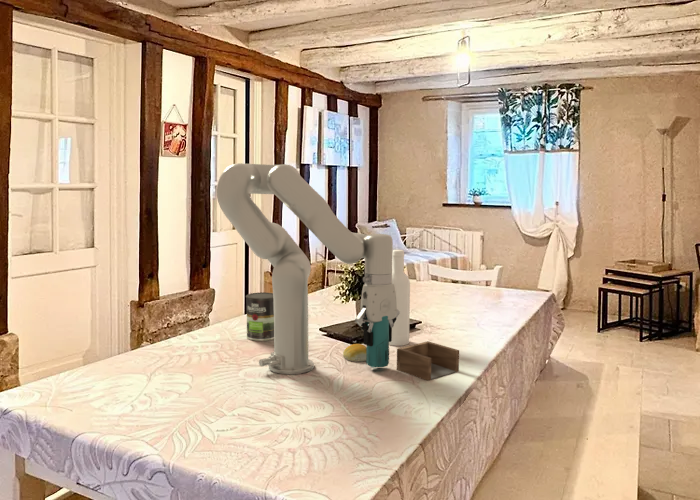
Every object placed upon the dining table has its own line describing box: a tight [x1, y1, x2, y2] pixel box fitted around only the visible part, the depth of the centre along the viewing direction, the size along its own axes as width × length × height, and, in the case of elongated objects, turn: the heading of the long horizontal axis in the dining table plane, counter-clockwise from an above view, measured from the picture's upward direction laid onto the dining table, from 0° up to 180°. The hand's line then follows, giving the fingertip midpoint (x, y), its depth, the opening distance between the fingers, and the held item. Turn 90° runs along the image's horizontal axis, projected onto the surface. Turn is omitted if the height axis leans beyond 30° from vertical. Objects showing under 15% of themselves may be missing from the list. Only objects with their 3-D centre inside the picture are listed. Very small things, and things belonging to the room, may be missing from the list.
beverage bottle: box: [366, 316, 390, 368], centre depth 174 cm, size 6×7×20 cm
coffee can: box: [245, 291, 274, 342], centre depth 207 cm, size 10×10×14 cm
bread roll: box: [342, 343, 367, 363], centre depth 186 cm, size 8×9×4 cm
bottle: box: [389, 249, 411, 347], centre depth 200 cm, size 8×8×30 cm
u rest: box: [396, 341, 460, 381], centre depth 174 cm, size 12×12×6 cm
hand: (377, 342), depth 174 cm, fingers closed on beverage bottle, 6 cm apart
